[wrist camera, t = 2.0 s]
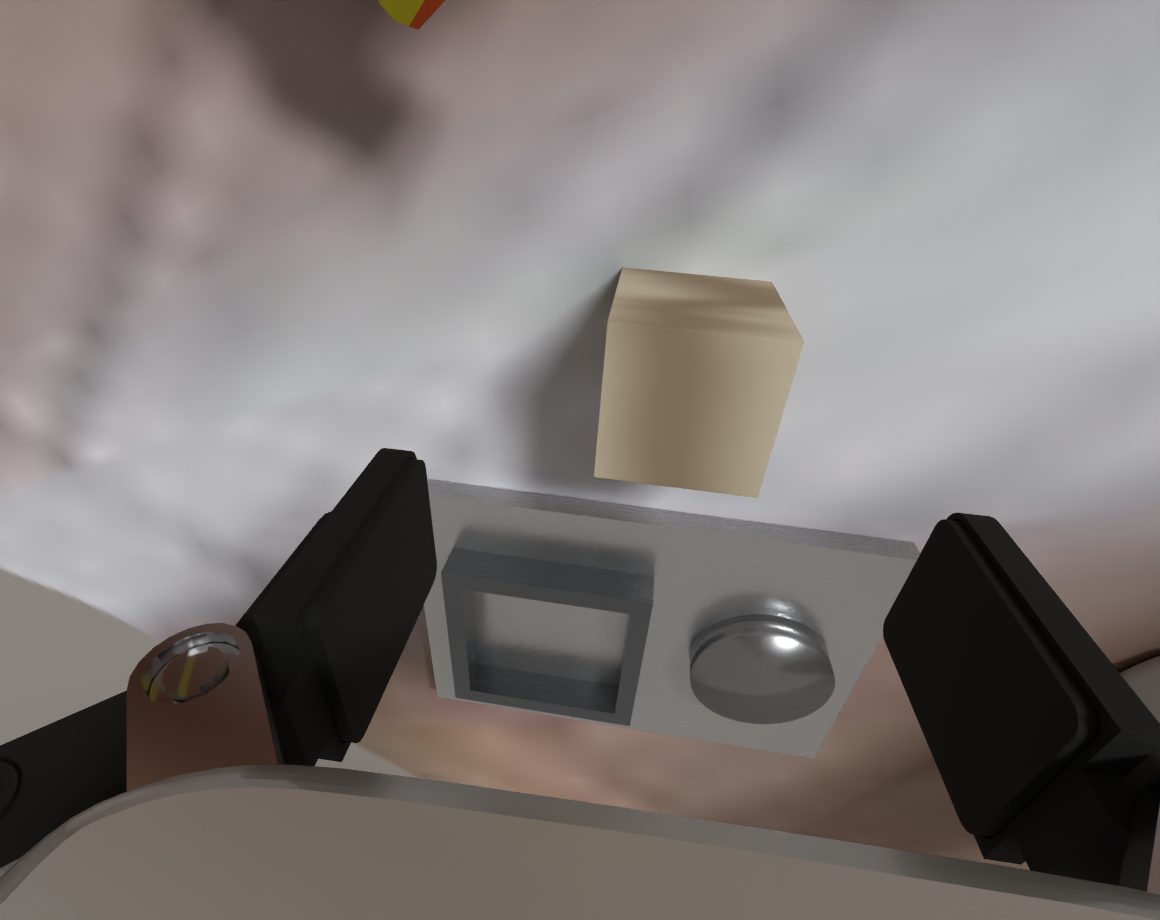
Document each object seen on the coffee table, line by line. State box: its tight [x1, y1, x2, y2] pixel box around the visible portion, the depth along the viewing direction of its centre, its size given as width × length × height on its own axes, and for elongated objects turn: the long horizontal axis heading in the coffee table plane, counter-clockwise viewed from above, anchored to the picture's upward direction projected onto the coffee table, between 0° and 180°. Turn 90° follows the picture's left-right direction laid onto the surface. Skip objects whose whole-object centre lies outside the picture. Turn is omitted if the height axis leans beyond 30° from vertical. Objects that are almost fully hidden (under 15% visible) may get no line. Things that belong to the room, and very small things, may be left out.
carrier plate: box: [424, 479, 920, 759], centre depth 25 cm, size 20×14×2 cm
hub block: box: [594, 267, 804, 498], centre depth 16 cm, size 5×5×5 cm
